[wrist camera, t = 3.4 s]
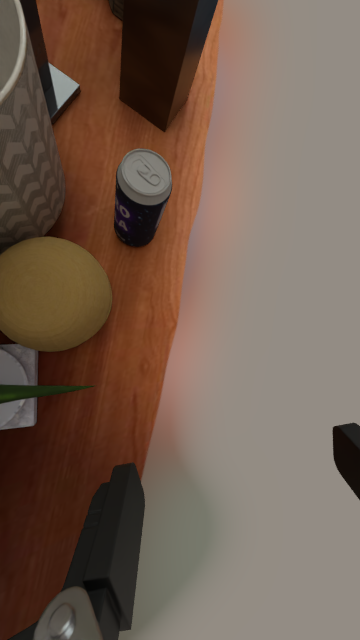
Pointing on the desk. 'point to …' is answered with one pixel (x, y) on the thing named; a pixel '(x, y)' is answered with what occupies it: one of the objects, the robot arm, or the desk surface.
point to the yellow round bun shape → (52, 294)
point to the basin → (48, 67)
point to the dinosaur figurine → (22, 386)
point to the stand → (161, 54)
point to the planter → (25, 139)
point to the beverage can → (140, 196)
